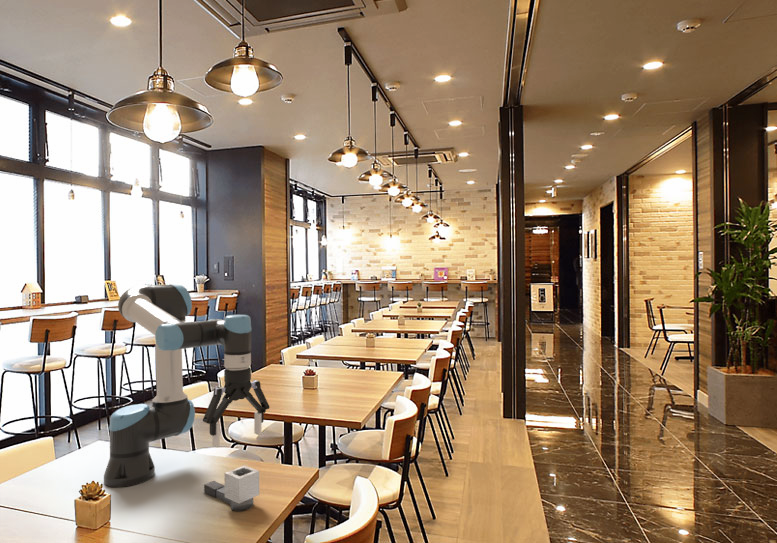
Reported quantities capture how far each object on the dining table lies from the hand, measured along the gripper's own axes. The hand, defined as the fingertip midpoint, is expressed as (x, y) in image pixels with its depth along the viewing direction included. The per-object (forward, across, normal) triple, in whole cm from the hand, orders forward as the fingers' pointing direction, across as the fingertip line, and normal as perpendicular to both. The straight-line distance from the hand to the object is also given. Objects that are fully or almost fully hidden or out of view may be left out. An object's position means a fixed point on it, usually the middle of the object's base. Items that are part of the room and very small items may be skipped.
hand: (237, 439), depth 142 cm
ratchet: (+19, 0, +5) cm, 20 cm away
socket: (+16, +1, -2) cm, 16 cm away
